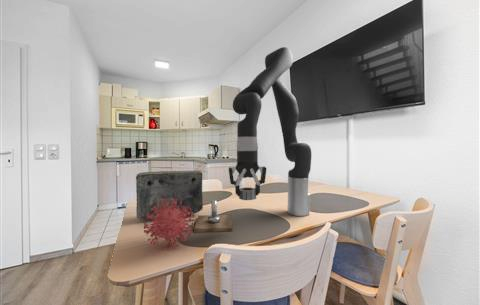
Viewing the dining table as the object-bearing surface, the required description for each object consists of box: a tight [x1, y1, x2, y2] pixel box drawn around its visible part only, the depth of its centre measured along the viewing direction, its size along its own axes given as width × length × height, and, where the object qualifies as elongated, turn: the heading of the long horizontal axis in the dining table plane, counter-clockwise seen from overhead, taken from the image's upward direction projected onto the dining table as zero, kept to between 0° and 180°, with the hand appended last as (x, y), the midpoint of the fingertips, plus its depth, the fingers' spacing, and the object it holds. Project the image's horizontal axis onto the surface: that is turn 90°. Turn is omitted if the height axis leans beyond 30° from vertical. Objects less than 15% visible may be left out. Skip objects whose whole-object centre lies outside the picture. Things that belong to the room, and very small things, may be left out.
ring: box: [238, 186, 257, 201], centre depth 74 cm, size 6×6×3 cm
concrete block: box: [135, 169, 204, 220], centre depth 88 cm, size 27×9×20 cm, turn 110°
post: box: [208, 199, 220, 224], centre depth 81 cm, size 5×5×8 cm
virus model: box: [143, 198, 195, 250], centre depth 63 cm, size 15×15×15 cm
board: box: [193, 214, 233, 233], centre depth 81 cm, size 14×14×1 cm
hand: (247, 195), depth 74 cm, fingers closed on ring, 6 cm apart
